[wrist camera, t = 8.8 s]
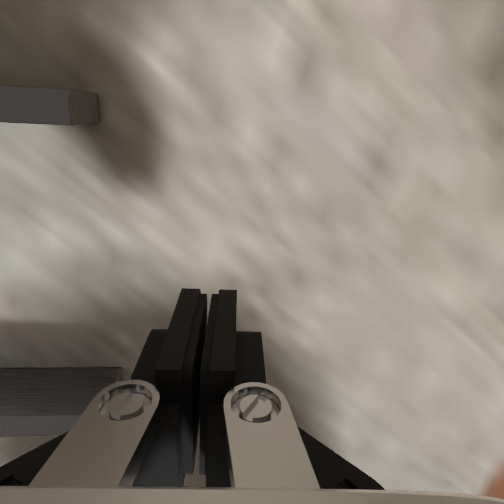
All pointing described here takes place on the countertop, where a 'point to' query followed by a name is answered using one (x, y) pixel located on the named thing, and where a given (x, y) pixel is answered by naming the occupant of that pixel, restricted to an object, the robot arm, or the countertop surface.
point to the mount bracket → (48, 379)
